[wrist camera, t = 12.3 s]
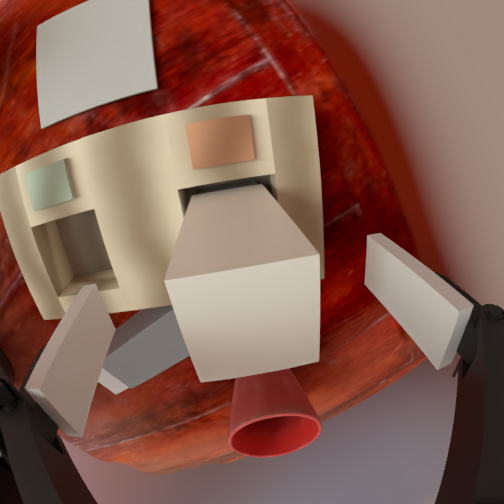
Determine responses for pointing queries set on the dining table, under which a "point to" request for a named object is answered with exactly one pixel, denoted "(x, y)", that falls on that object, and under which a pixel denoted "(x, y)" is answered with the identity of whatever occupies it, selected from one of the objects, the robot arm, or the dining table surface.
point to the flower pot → (271, 415)
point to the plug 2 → (244, 284)
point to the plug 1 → (143, 349)
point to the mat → (93, 57)
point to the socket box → (151, 196)
